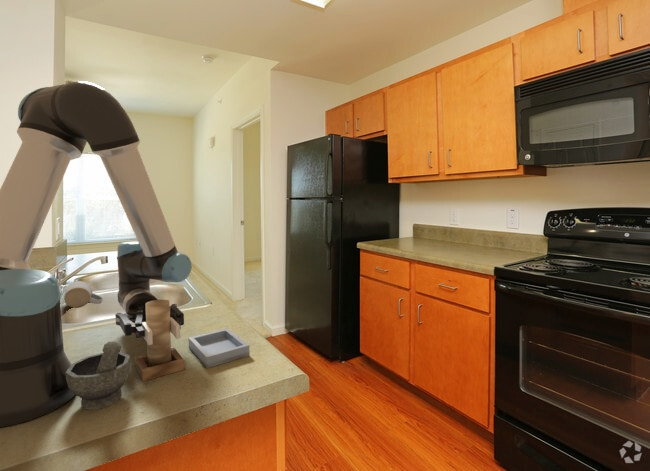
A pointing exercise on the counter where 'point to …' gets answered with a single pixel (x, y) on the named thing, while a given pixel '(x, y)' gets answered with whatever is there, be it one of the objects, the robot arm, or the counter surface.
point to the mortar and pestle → (99, 376)
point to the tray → (218, 347)
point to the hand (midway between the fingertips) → (164, 335)
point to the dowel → (159, 332)
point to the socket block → (159, 366)
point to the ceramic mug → (80, 295)
